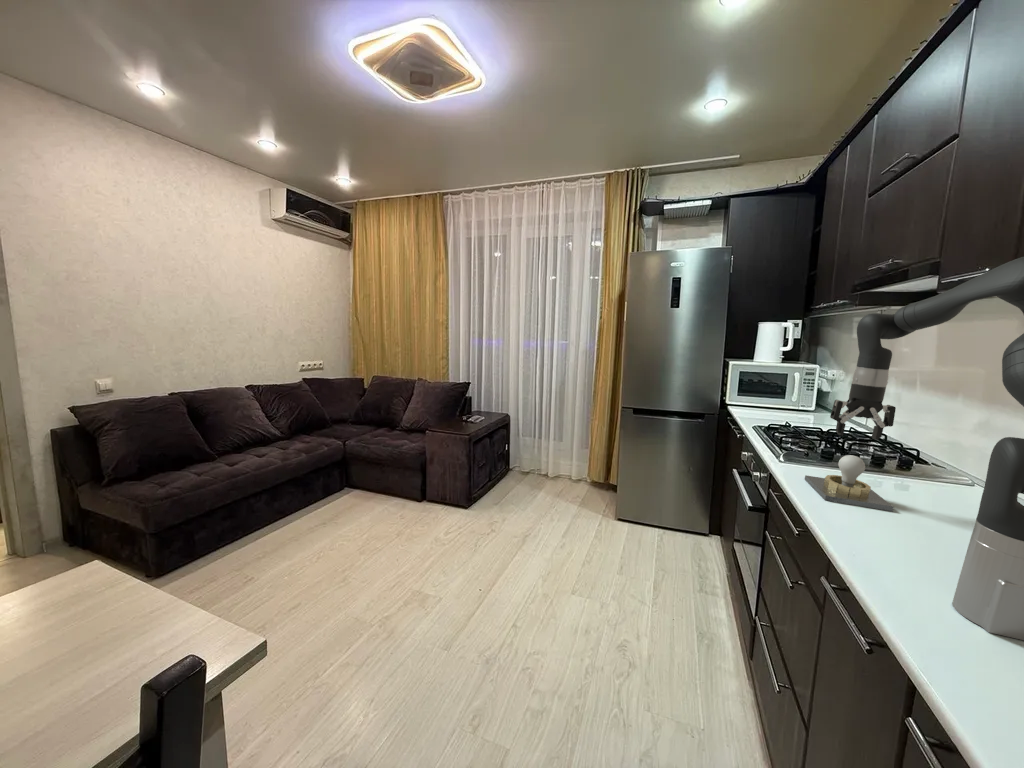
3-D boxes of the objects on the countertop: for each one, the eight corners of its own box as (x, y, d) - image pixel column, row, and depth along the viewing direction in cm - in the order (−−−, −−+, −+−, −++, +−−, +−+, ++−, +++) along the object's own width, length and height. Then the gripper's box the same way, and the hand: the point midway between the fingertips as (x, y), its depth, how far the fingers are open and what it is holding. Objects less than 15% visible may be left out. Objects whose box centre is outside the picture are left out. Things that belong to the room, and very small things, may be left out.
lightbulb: (851, 486, 122) (858, 453, 120) (864, 495, 116) (872, 460, 114) (829, 484, 123) (836, 451, 121) (841, 492, 117) (848, 458, 115)
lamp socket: (892, 511, 110) (895, 498, 109) (824, 500, 115) (827, 487, 114) (863, 488, 125) (866, 476, 124) (804, 479, 130) (806, 468, 129)
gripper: (891, 384, 115) (879, 436, 118) (833, 379, 119) (823, 430, 122) (907, 388, 108) (894, 444, 111) (845, 382, 112) (834, 436, 115)
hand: (857, 436), depth 116 cm, fingers open, 8 cm apart
